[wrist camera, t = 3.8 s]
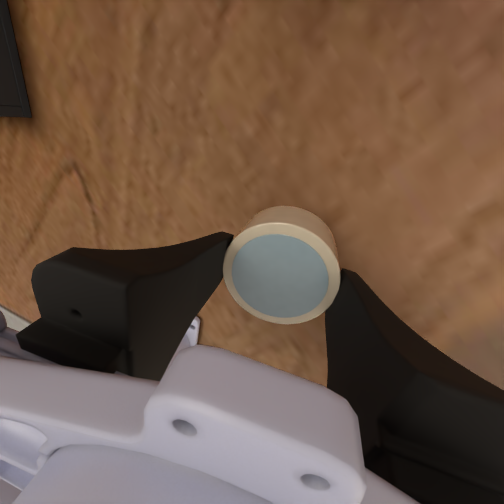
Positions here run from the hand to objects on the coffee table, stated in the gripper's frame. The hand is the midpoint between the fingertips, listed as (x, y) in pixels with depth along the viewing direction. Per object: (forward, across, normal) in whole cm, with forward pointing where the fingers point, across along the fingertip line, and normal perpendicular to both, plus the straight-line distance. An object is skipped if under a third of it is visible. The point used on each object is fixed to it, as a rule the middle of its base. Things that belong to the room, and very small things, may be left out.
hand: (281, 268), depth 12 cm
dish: (+2, 0, 0) cm, 2 cm away
